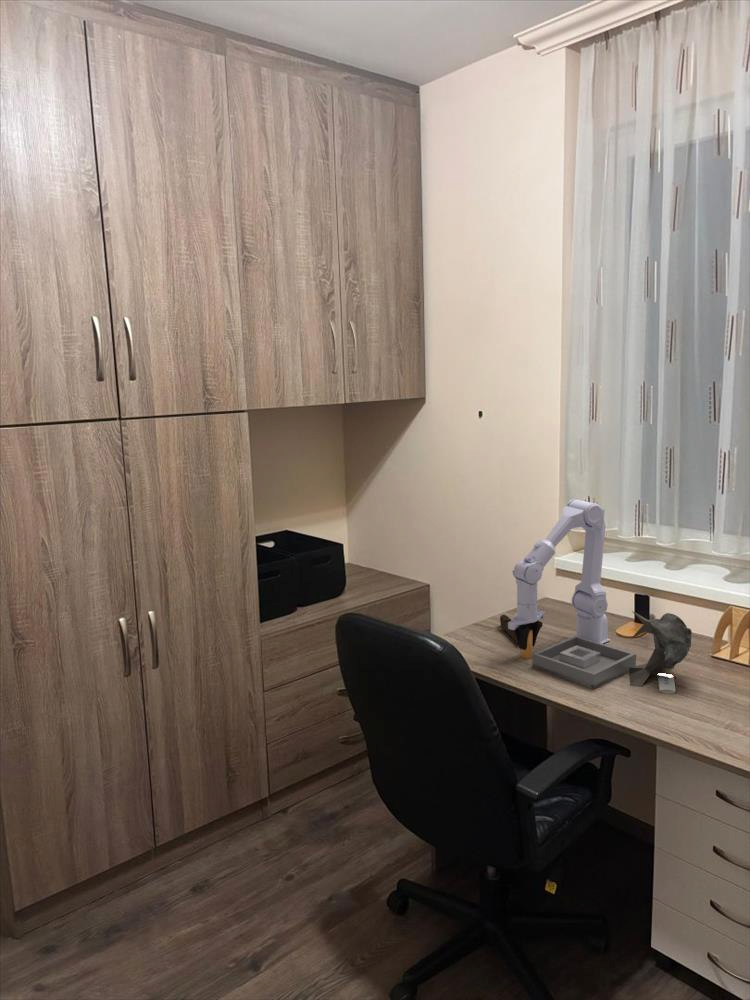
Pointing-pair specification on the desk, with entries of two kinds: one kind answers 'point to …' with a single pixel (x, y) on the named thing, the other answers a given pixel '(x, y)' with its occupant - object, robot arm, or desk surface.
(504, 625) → the dark brown rod
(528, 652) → the orange wooden block
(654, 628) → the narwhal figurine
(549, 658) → the walled box
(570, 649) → the inlet socket
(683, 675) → the desk surface
